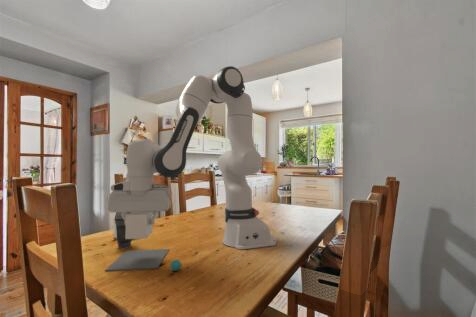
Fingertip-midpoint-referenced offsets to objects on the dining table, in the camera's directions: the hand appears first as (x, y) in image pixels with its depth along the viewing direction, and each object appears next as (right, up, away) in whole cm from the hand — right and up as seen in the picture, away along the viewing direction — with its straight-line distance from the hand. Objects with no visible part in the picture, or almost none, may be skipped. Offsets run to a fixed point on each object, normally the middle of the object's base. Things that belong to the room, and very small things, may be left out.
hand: (139, 224), depth 80 cm
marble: (+15, -10, -9) cm, 20 cm away
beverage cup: (-12, -13, +13) cm, 22 cm away
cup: (-18, -14, +26) cm, 35 cm away
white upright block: (0, -4, 0) cm, 4 cm away
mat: (0, -12, 0) cm, 12 cm away
